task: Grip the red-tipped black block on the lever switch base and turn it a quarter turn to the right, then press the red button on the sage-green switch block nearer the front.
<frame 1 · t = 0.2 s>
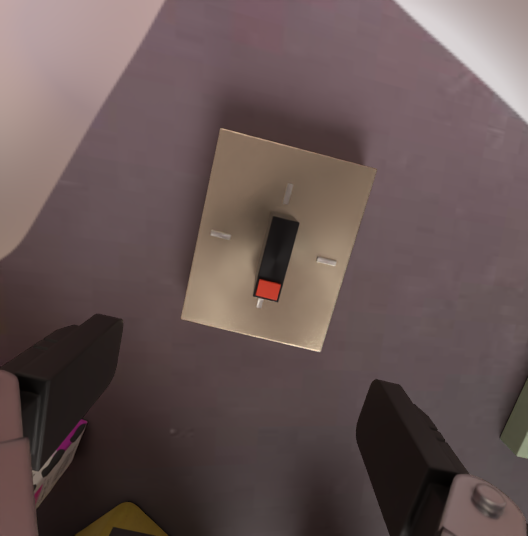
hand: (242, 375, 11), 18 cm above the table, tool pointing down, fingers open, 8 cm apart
red-tipped black block: (274, 254, 22), point 5 cm above the table, hinge at 0.0°
candy bar box: (25, 415, 31), on the table
lever switch base: (273, 241, 28), on the table
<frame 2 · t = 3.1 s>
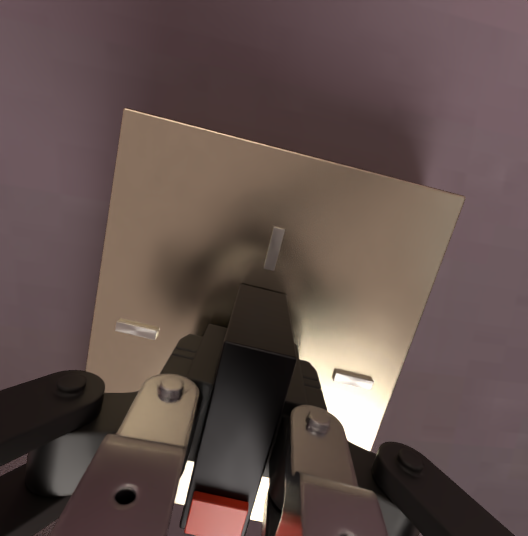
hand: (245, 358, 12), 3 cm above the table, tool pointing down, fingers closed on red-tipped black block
red-tipped black block: (241, 394, 10), point 5 cm above the table, hinge at 0.0°, touching gripper
lever switch base: (250, 322, 15), on the table
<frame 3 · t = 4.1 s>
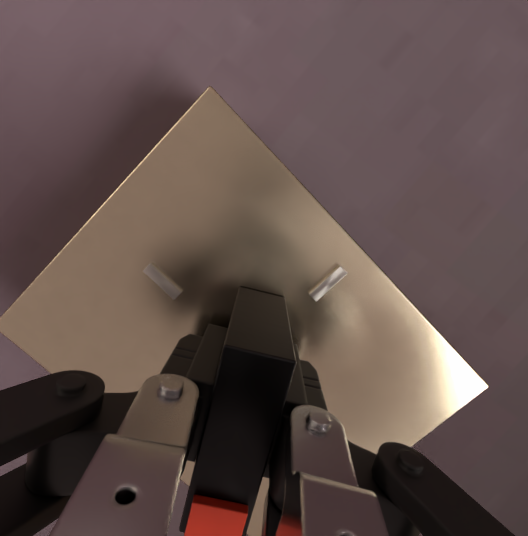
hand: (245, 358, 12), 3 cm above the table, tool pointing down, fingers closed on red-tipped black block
red-tipped black block: (240, 397, 10), point 5 cm above the table, hinge at -58.5°, touching gripper
lever switch base: (249, 324, 15), on the table
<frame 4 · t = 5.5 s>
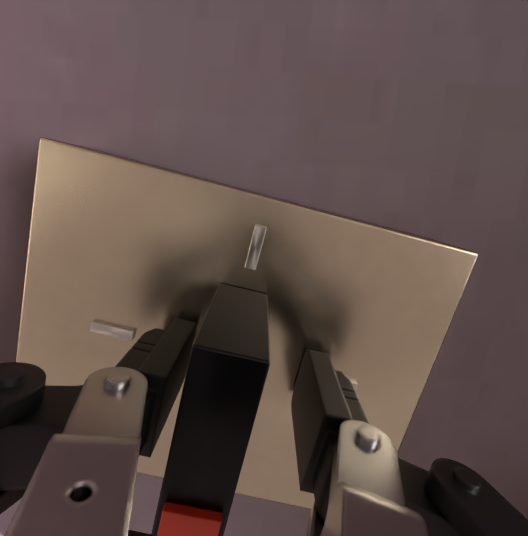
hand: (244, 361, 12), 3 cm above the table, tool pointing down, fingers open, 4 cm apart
red-tipped black block: (218, 398, 9), point 5 cm above the table, hinge at -89.2°
lever switch base: (234, 322, 15), on the table
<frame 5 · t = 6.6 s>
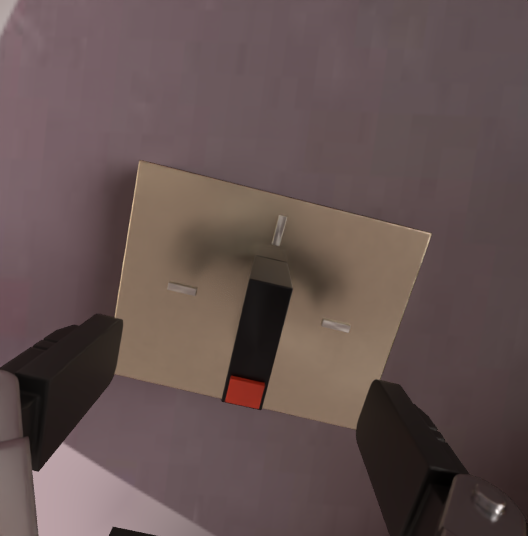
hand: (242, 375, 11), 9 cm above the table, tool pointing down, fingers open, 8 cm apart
red-tipped black block: (257, 325, 15), point 5 cm above the table, hinge at -89.2°
lever switch base: (261, 290, 20), on the table
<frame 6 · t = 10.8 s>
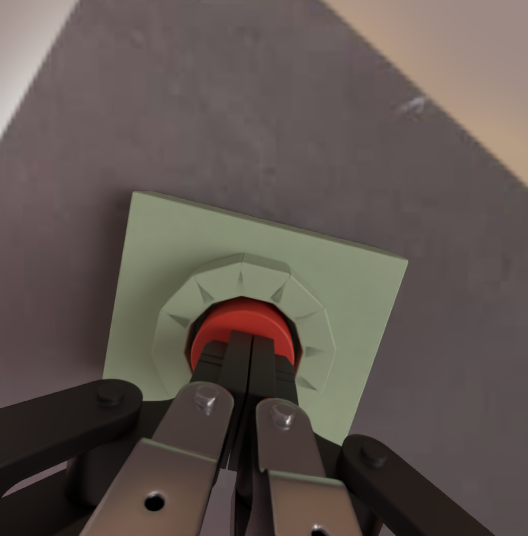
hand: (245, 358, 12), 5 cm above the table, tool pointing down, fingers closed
start button: (244, 348, 13), point 4 cm above the table, slide at -0.7 cm, touching gripper
switch block: (248, 313, 16), on the table
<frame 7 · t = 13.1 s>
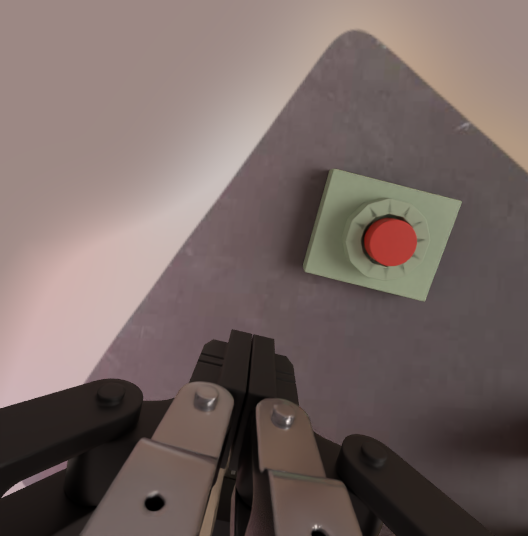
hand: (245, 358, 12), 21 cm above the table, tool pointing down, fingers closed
red-tipped black block: (222, 521, 32), point 5 cm above the table, hinge at -89.2°
start button: (389, 241, 27), point 4 cm above the table, slide at 0.1 cm
lever switch base: (229, 474, 38), on the table
switch block: (373, 234, 31), on the table
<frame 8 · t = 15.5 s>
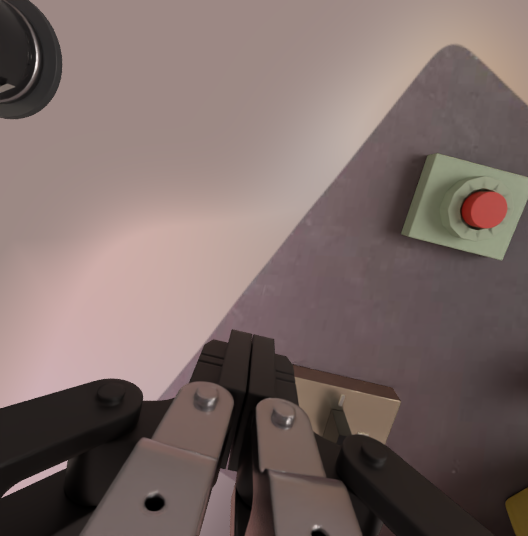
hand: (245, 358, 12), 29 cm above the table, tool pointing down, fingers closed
red-tipped black block: (336, 441, 40), point 5 cm above the table, hinge at -89.2°
start button: (483, 209, 35), point 4 cm above the table, slide at 0.1 cm
lever switch base: (328, 412, 45), on the table
switch block: (459, 207, 39), on the table
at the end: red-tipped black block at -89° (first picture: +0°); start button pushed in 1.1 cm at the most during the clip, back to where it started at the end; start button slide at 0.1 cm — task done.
